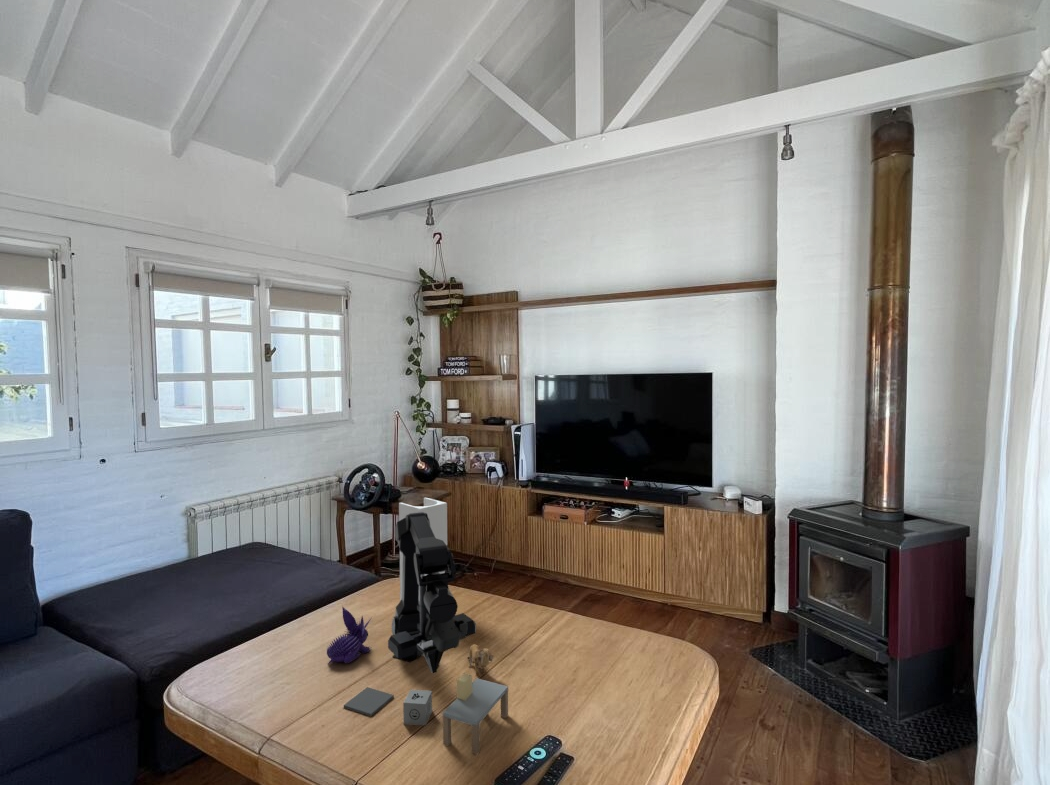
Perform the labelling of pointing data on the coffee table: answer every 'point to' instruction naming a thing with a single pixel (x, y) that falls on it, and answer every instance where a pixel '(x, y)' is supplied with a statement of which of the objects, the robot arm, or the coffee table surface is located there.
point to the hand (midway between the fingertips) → (433, 672)
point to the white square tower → (437, 523)
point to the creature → (349, 640)
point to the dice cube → (417, 707)
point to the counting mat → (368, 701)
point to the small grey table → (474, 706)
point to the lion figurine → (479, 658)
